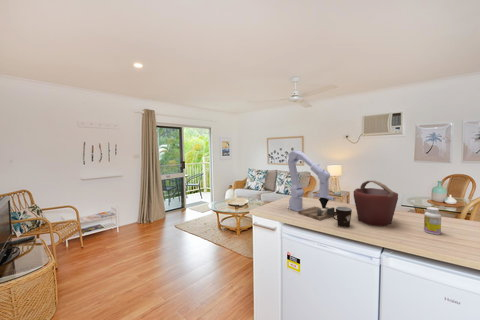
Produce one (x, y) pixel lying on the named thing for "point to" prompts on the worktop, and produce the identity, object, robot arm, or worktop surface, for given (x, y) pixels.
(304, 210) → the stool seat
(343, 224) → the coffee mug
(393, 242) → the worktop surface
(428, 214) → the supplement bottle
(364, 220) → the bucket
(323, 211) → the folding leg
